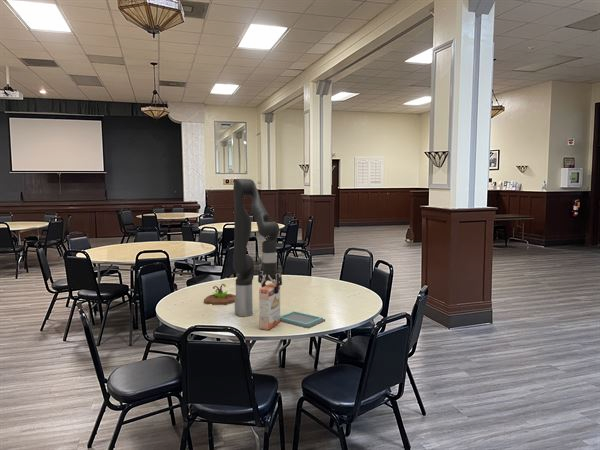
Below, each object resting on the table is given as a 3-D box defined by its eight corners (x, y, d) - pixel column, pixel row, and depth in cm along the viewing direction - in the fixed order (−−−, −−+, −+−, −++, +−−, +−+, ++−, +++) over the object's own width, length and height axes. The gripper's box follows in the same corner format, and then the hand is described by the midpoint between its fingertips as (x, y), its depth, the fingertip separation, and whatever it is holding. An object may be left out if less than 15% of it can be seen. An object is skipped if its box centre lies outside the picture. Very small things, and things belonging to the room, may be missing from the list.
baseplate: (275, 320, 232) (275, 316, 232) (293, 313, 244) (293, 310, 244) (308, 328, 219) (308, 324, 219) (325, 321, 230) (325, 317, 230)
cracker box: (269, 330, 216) (269, 289, 214) (258, 329, 218) (258, 288, 216) (281, 322, 229) (280, 283, 227) (270, 321, 231) (270, 282, 229)
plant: (230, 306, 260) (229, 288, 259) (199, 304, 264) (199, 286, 263) (241, 298, 280) (241, 280, 279) (212, 296, 284) (212, 279, 283)
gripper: (254, 260, 222) (254, 291, 223) (275, 263, 213) (275, 295, 214) (264, 258, 228) (264, 289, 229) (284, 261, 219) (285, 292, 220)
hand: (270, 292), depth 222 cm, fingers open, 8 cm apart
